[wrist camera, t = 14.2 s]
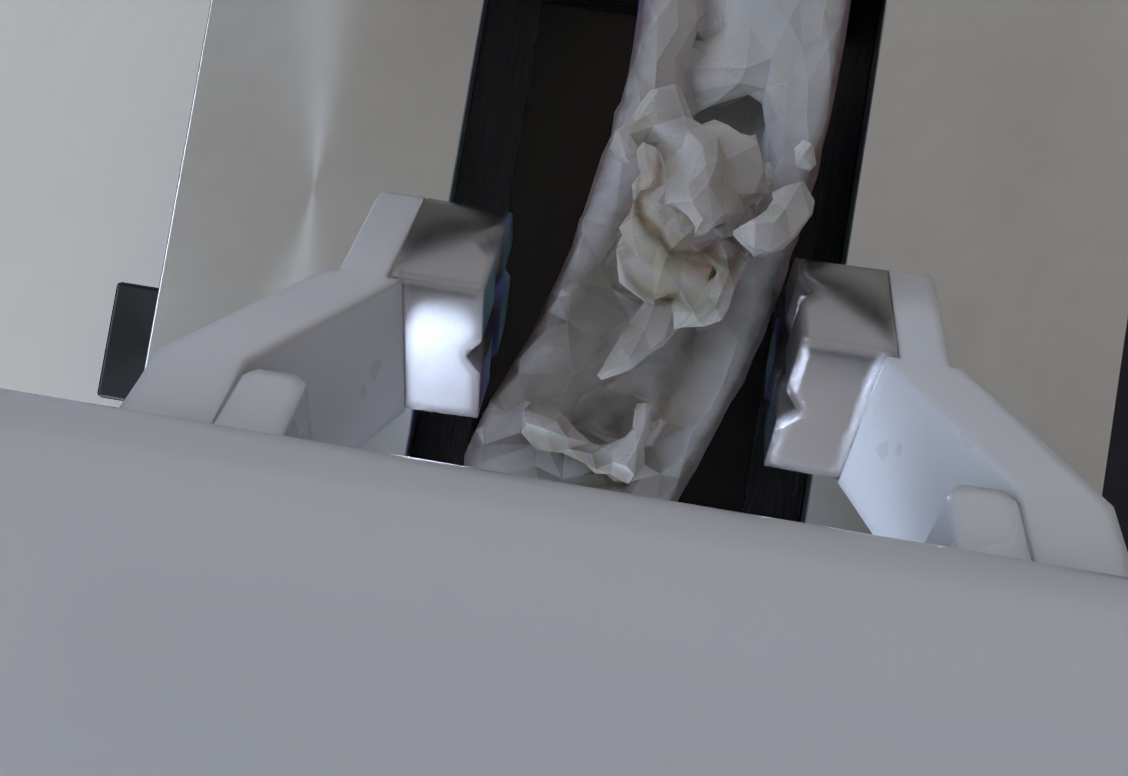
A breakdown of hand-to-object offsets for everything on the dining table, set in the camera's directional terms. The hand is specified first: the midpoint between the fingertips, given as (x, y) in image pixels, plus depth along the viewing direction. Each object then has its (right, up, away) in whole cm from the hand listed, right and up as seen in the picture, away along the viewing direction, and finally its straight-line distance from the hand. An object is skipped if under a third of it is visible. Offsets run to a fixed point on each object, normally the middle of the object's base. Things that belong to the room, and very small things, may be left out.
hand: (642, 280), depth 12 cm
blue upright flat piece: (0, 0, +9) cm, 9 cm away
